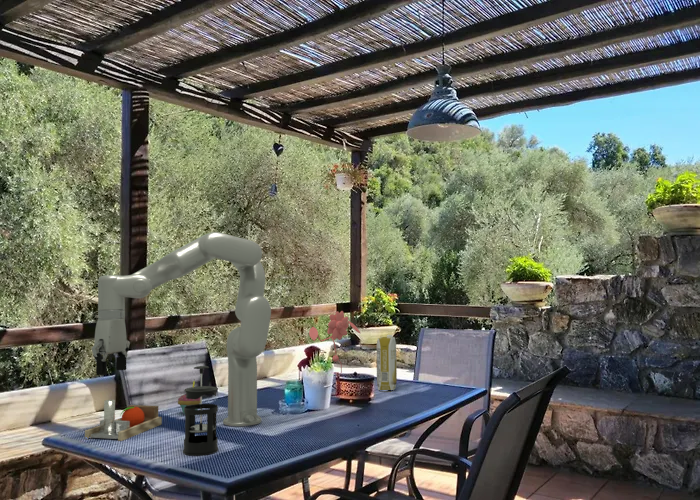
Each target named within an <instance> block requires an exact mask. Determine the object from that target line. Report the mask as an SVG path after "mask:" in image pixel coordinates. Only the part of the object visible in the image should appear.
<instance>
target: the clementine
mask: <svg viewBox="0 0 700 500" xmlns="http://www.w3.org/2000/svg"><path fill="white" fill-rule="evenodd" d="M119 417H121V418H122V421H130V427H133V426H136V425H138V424H141V423H143V421H144V413H143V411H142V410H141V409H140V408H139V407H134V406H133V407H129V408H127V407H126V408H125V409H123V410H122V411H121V412H120V415H119Z"/></svg>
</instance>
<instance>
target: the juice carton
mask: <svg viewBox="0 0 700 500" xmlns="http://www.w3.org/2000/svg"><path fill="white" fill-rule="evenodd" d="M397 367H398V366H397V342H396V337H395V336H393V334H387V335H386V336H380V337H379V338H377V341H376V384H377V385H376V386H377V390H393V391H394V390H396V387H397V378H398V377H397V372H398V371H397Z"/></svg>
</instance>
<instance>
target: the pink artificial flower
mask: <svg viewBox="0 0 700 500" xmlns="http://www.w3.org/2000/svg"><path fill="white" fill-rule="evenodd" d="M329 320H330V321H329V322H328V323H327V326H328V328H327V331H326V332H327V334H328V335H331V336H329V337H326V338H324V339H321V337H320V336H319V331H318V329H317V328H316V327H315V326H312V327H311V328H310V329H309V332H308V336H309V338H310V339H311V340H312V341H314V342H315V341H316V340H317V339H318V340H319V341H320V343H322V342H324V341H327V340H329V339H331V340H332V343H333V345H334V355H333V356H332V360H333V361H332V362H335V363H336V362H339V363H340V374H341V373H343V371H342V361H340V359H339V358H340V357H339V356H338V355H337V347H336V342H335V340H336V339H337V340H338V341H340V340H342V338H343V336H347V335H348V331H347V329H348V328H349V326H350V327H351V328H352V329H353V330H354V331H356V333H358V334H361V331H360V329H359V328H358V327H357V326H356V325H355V323H353V322H351V321H350V320H349V317H348V316H345V313H344V311H343V310H341V311H340V312H339V311H336V312H335V314H334V313H332V314H329Z"/></svg>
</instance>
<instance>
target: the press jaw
mask: <svg viewBox="0 0 700 500" xmlns="http://www.w3.org/2000/svg"><path fill="white" fill-rule="evenodd" d="M103 402H104V403H103V404H104V405H103V419H102V420H99V425H100V431H98V432H95V433H92V434H91V438H90V439H92V438H93V439H94V438H95V439H113V440H118V432H120V431H123V430H125V429H128V428H130V421H119V420H117V419H116V414H115V413H116V400H115V399H106V400H104V401H103Z"/></svg>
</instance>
